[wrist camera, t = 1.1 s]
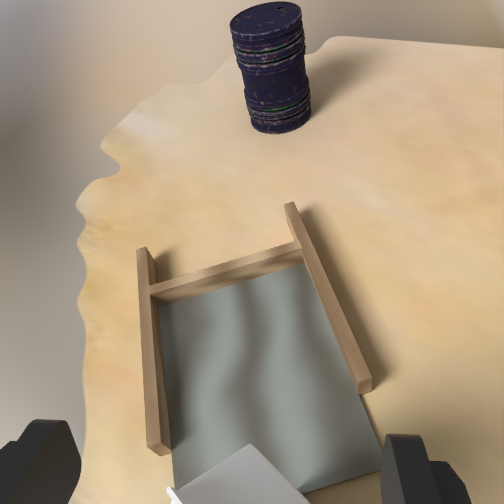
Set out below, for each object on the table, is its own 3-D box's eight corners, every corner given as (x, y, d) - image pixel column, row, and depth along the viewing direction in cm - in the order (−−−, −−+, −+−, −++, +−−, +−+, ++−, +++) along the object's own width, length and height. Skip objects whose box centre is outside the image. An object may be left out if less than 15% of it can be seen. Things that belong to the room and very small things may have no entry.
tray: (296, 219, 52) (293, 201, 50) (402, 463, 33) (405, 452, 31) (146, 265, 52) (136, 249, 50) (165, 535, 33) (151, 530, 31)
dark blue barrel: (280, 142, 63) (263, 41, 51) (237, 122, 68) (213, 27, 57) (325, 108, 66) (318, 6, 55) (280, 92, 71) (265, -3, 60)
